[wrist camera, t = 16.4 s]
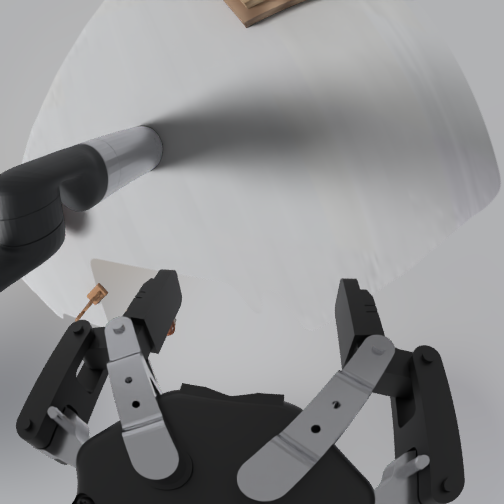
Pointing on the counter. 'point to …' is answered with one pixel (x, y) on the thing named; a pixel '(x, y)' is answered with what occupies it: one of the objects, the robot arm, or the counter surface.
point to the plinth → (258, 9)
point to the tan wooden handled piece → (94, 298)
